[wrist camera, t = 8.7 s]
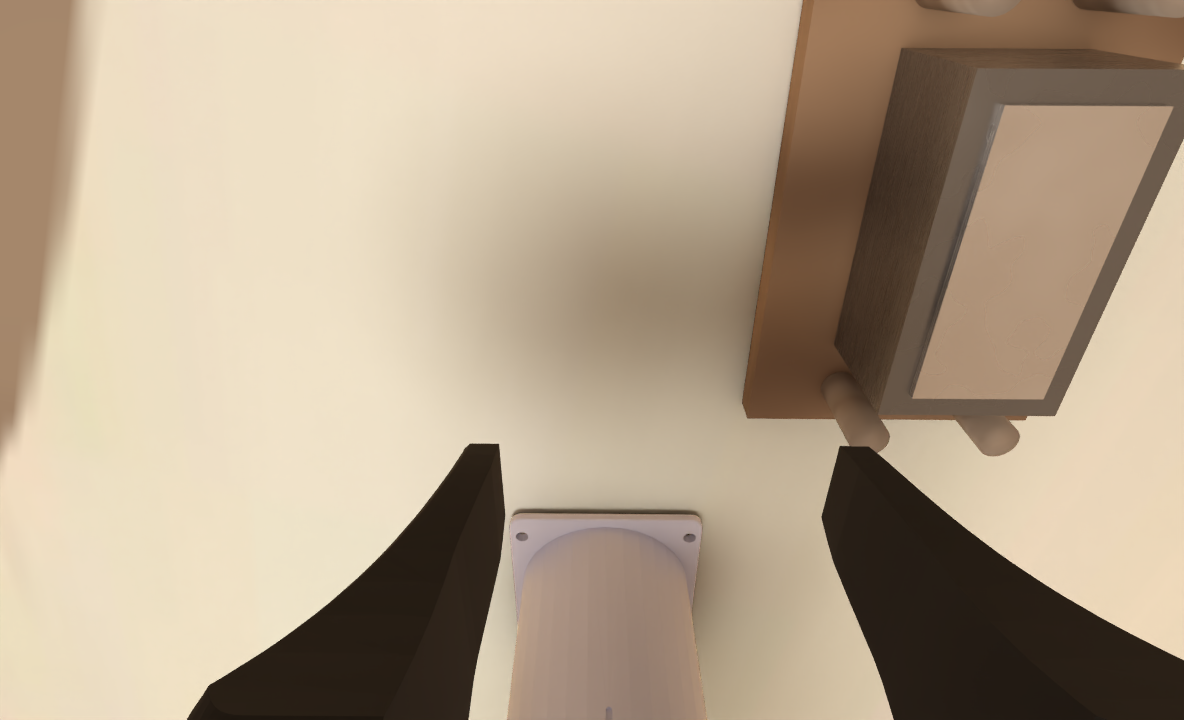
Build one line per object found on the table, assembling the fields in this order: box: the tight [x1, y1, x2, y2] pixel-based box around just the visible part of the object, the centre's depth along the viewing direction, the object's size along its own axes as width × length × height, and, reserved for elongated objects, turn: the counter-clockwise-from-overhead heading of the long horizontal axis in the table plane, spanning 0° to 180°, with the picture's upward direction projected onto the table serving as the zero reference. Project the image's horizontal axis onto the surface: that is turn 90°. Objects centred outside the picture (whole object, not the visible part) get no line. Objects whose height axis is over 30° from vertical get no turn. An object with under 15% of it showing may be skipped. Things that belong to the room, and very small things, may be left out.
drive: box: [834, 48, 1184, 416], centre depth 18 cm, size 9×5×4 cm, turn 0°
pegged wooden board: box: [742, 0, 1184, 456], centre depth 19 cm, size 15×10×4 cm, turn 0°
